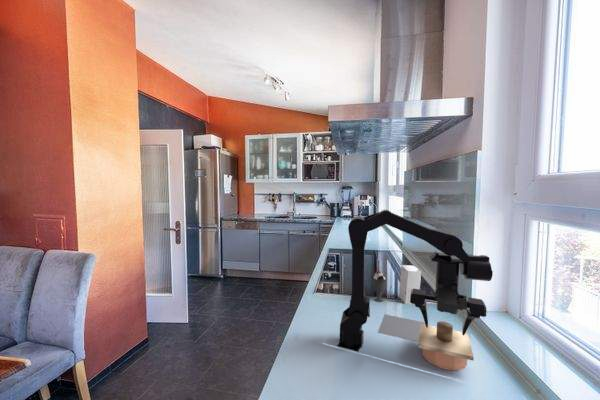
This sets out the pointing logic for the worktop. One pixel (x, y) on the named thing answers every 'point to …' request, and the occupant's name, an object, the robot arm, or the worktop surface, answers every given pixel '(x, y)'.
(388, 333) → the mat
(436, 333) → the lid
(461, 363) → the bowl
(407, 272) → the skincare box
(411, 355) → the worktop surface
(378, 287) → the sundae
